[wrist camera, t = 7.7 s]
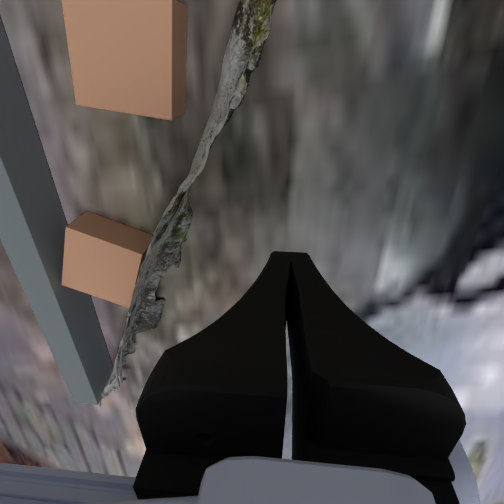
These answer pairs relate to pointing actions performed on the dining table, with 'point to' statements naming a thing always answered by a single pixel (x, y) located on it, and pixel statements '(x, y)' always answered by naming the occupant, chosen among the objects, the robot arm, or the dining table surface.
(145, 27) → the tile
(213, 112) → the driftwood
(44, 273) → the slate curb
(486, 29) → the dining table surface
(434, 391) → the robot arm
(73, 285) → the tile
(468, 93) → the dining table surface
